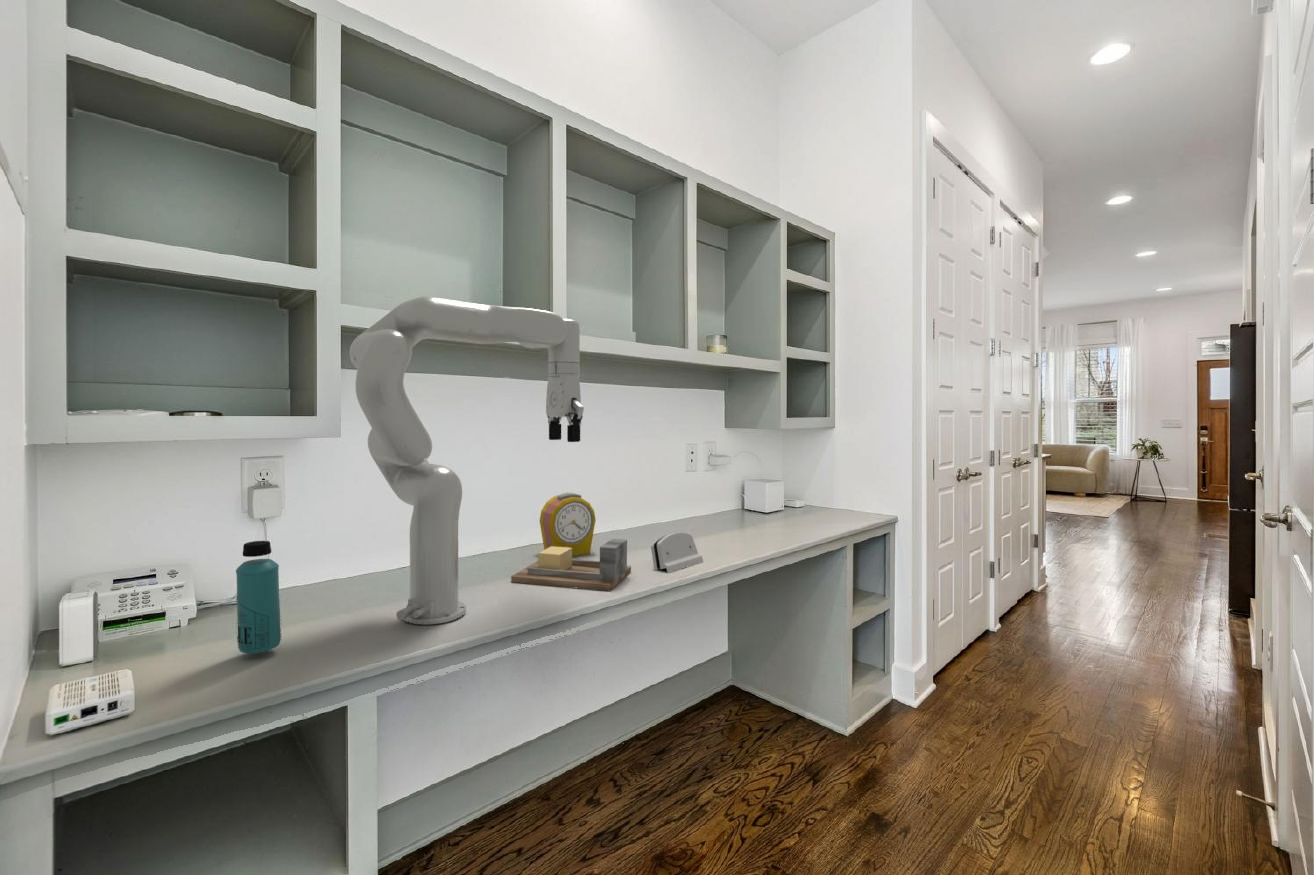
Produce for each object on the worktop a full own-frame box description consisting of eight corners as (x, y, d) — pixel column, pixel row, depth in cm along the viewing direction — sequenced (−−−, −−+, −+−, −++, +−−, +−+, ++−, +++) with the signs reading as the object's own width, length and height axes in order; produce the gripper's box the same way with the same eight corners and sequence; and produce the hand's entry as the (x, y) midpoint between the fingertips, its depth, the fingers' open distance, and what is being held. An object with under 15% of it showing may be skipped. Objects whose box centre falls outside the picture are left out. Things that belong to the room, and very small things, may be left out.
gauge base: (609, 591, 144) (610, 552, 143) (511, 582, 150) (511, 544, 149) (630, 571, 161) (631, 536, 160) (541, 564, 167) (542, 530, 167)
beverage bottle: (289, 647, 108) (287, 537, 107) (266, 662, 101) (264, 546, 100) (252, 647, 108) (250, 537, 107) (227, 662, 101) (224, 545, 100)
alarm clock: (550, 559, 173) (550, 496, 172) (539, 553, 180) (539, 492, 179) (596, 553, 181) (596, 492, 180) (584, 547, 188) (584, 489, 187)
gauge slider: (559, 574, 152) (560, 554, 152) (538, 572, 153) (538, 553, 153) (578, 562, 164) (578, 544, 164) (557, 560, 166) (558, 542, 165)
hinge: (668, 573, 160) (658, 536, 161) (655, 576, 163) (646, 540, 164) (704, 561, 173) (695, 527, 174) (691, 564, 175) (683, 531, 177)
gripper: (534, 371, 150) (535, 439, 151) (567, 368, 137) (567, 443, 137) (561, 372, 155) (561, 438, 156) (595, 369, 141) (595, 442, 142)
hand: (564, 440), depth 147 cm, fingers open, 9 cm apart
